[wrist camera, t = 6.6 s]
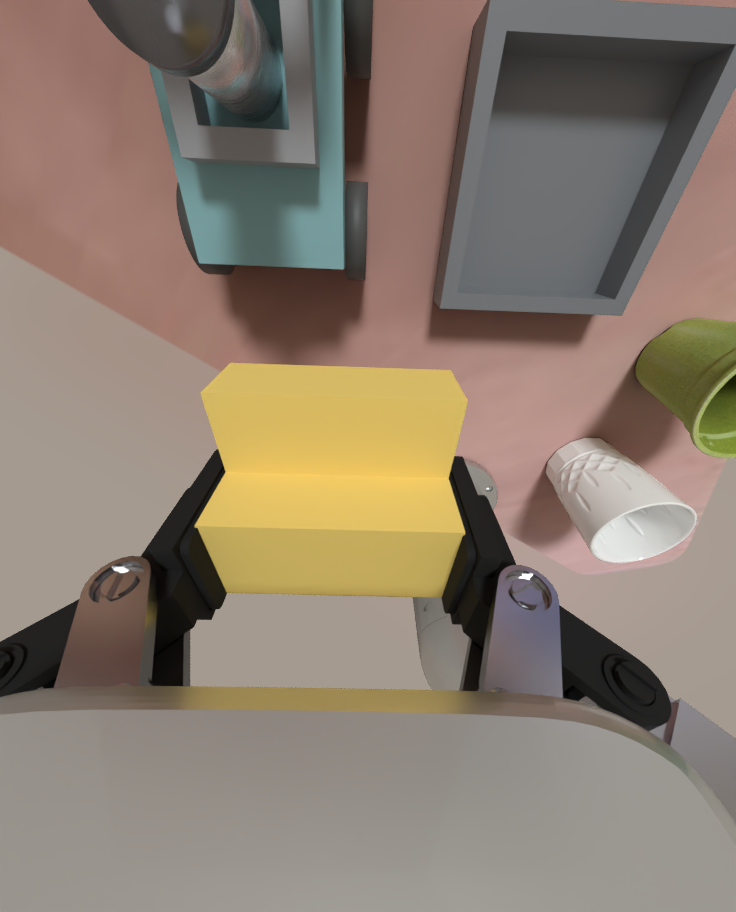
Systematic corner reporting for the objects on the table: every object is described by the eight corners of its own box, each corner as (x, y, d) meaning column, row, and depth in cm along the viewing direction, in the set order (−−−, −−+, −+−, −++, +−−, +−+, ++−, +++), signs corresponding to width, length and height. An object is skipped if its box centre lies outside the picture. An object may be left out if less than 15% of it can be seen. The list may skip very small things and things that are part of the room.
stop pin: (293, 134, 14) (238, 69, 8) (214, 130, 14) (97, 61, 8) (283, 1, 12) (197, -225, 6) (188, -5, 12) (3, -239, 6)
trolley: (365, 274, 23) (362, 321, 12) (225, 269, 23) (96, 311, 12) (374, -67, 15) (392, -884, 4) (151, -81, 14) (-503, -994, 4)
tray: (596, 306, 24) (621, 315, 22) (432, 299, 24) (439, 308, 22) (714, 41, 16) (774, 10, 14) (473, 26, 16) (491, -7, 14)
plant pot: (640, 300, 24) (750, 331, 17) (769, 288, 24) (936, 315, 17) (597, 406, 30) (666, 462, 23) (700, 398, 29) (803, 453, 22)
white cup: (569, 424, 31) (639, 494, 23) (634, 441, 32) (722, 513, 24) (525, 480, 35) (571, 555, 28) (583, 493, 37) (643, 569, 29)
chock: (424, 501, 12) (443, 597, 9) (262, 497, 12) (225, 592, 9) (450, 370, 9) (494, 448, 6) (230, 362, 9) (153, 438, 6)
